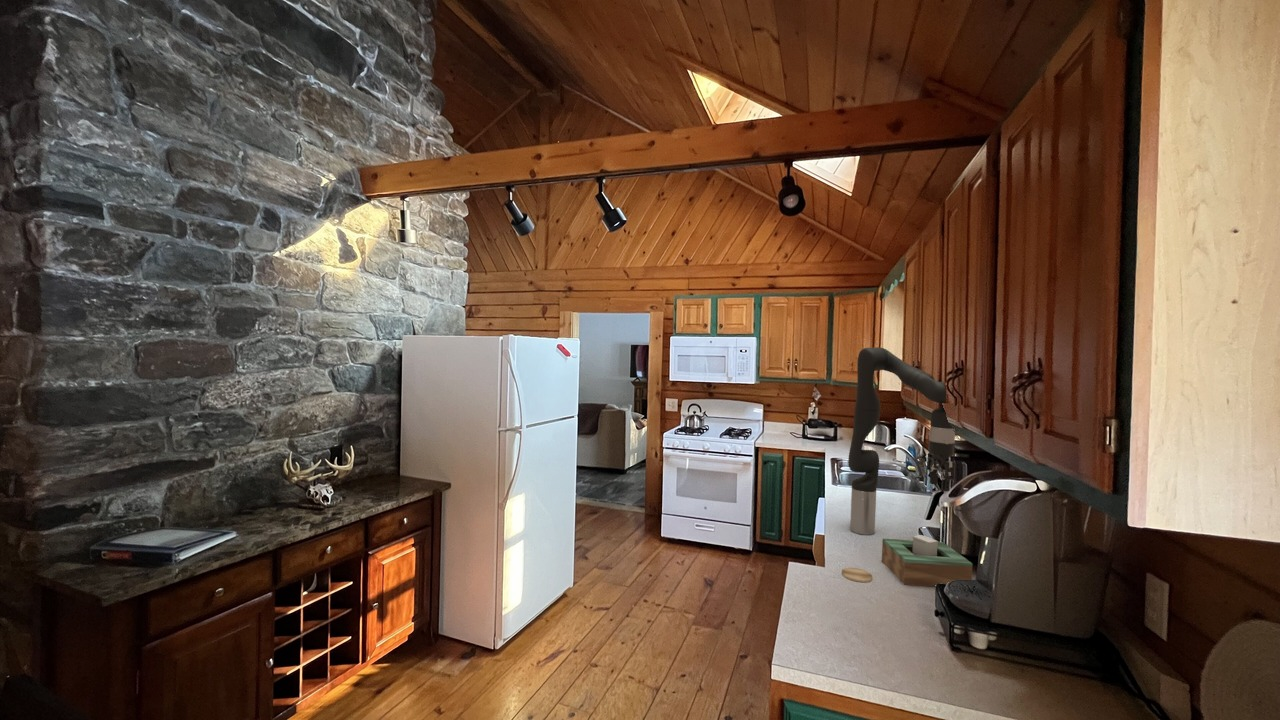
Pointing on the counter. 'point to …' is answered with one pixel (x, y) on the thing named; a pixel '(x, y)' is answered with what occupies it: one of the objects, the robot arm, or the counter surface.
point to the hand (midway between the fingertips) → (939, 487)
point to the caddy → (924, 564)
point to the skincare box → (924, 546)
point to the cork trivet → (857, 575)
